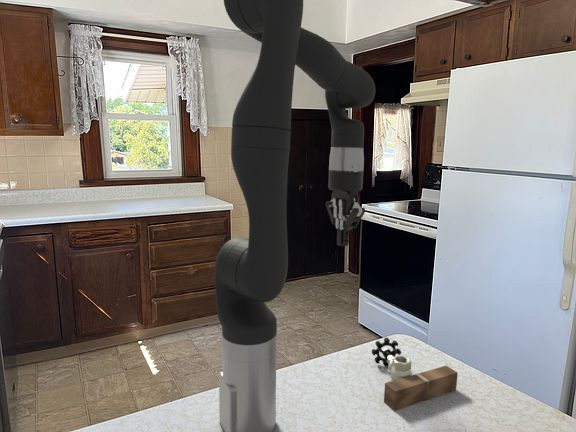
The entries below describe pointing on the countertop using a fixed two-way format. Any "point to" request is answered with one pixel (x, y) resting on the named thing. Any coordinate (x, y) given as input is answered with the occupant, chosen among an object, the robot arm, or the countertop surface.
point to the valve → (393, 360)
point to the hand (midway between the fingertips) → (342, 245)
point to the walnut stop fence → (420, 387)
